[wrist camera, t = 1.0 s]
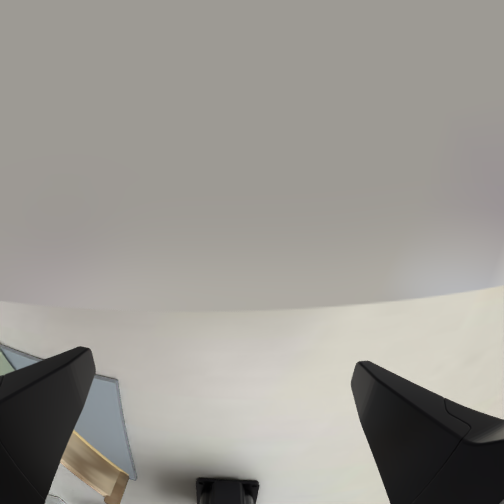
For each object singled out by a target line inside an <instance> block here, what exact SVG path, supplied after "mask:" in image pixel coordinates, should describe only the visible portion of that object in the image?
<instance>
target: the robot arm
mask: <svg viewBox="0 0 504 504" xmlns="http://www.w3.org/2000/svg"><path fill="white" fill-rule="evenodd" d="M95 372H96V369H95V364H94V360H93V355H92V351H91V350H90V349H89V348H86V347H81V346H80V347H77V348H74V349H71V350H69V351H66V352H64V353H61V354H58V355H56V356H53V357H50V358H48V359H45V360H42V361H40V362H37V363H34V364H32V365H29V366H26V367H23V368H21V369H18V370H15V371H12V372H10V373H7V374H5V375H1V376H0V504H45V502H46V501H45V500H46V498H47V495H48V493H49V490H50V487H51V484H52V482H53V479H54V476H55V474H56V471H57V469H58V466H59V463H60V461H61V458H62V456H63V454H64V451H65V449H66V446H67V444H68V442H69V439H70V437H71V435H72V432H73V430H74V428H75V426H76V423H77V421H78V419H79V417H80V415H81V412H82V410H83V408H84V405H85V402H86V399H87V396H88V393H89V390H90V388H91V385H92V382H93V379H94V376H95ZM351 388H352V392H353V396H354V400H355V404H356V407H357V411H358V415H359V419H360V422H361V425H362V428H363V430H364V433H365V435H366V438H367V441H368V443H369V446H370V449H371V451H372V454H373V457H374V459H375V462H376V465H377V467H378V470H379V473H380V475H381V478H382V481H383V484H384V486H385V489H386V492H387V495H388V498H389V501H390V503H391V504H504V420H503V419H499V418H496V417H493V416H490V415H487V414H484V413H481V412H478V411H475V410H473V409H470V408H467V407H465V406H462V405H460V404H458V403H455V402H453V401H451V400H449V399H446V398H444V397H442V396H440V395H438V394H436V393H433V392H431V391H429V390H427V389H425V388H423V387H421V386H419V385H417V384H414V383H412V382H410V381H408V380H406V379H404V378H402V377H400V376H398V375H396V374H394V373H392V372H390V371H388V370H386V369H384V368H382V367H380V366H378V365H376V364H374V363H372V362H370V361H359V362H357V363H356V366H355V369H354V373H353V376H352V380H351ZM196 490H197V504H256V499H257V495H258V490H259V482H257V481H233V480H216V479H205V478H198V479H197V480H196Z"/></svg>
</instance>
